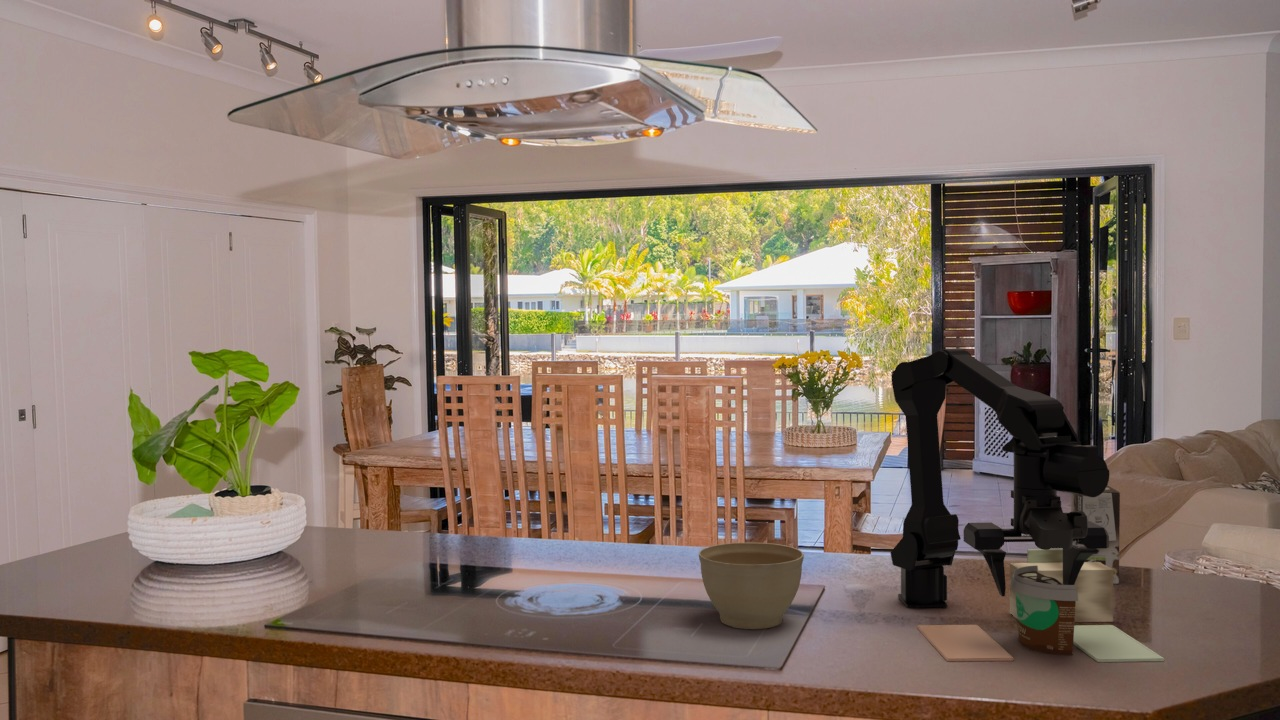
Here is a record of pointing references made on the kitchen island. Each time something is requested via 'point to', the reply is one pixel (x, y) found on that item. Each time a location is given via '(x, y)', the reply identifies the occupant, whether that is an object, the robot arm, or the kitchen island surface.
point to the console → (1090, 584)
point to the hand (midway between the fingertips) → (1034, 595)
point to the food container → (1044, 611)
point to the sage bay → (1111, 644)
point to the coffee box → (1103, 524)
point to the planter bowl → (751, 582)
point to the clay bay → (964, 643)
